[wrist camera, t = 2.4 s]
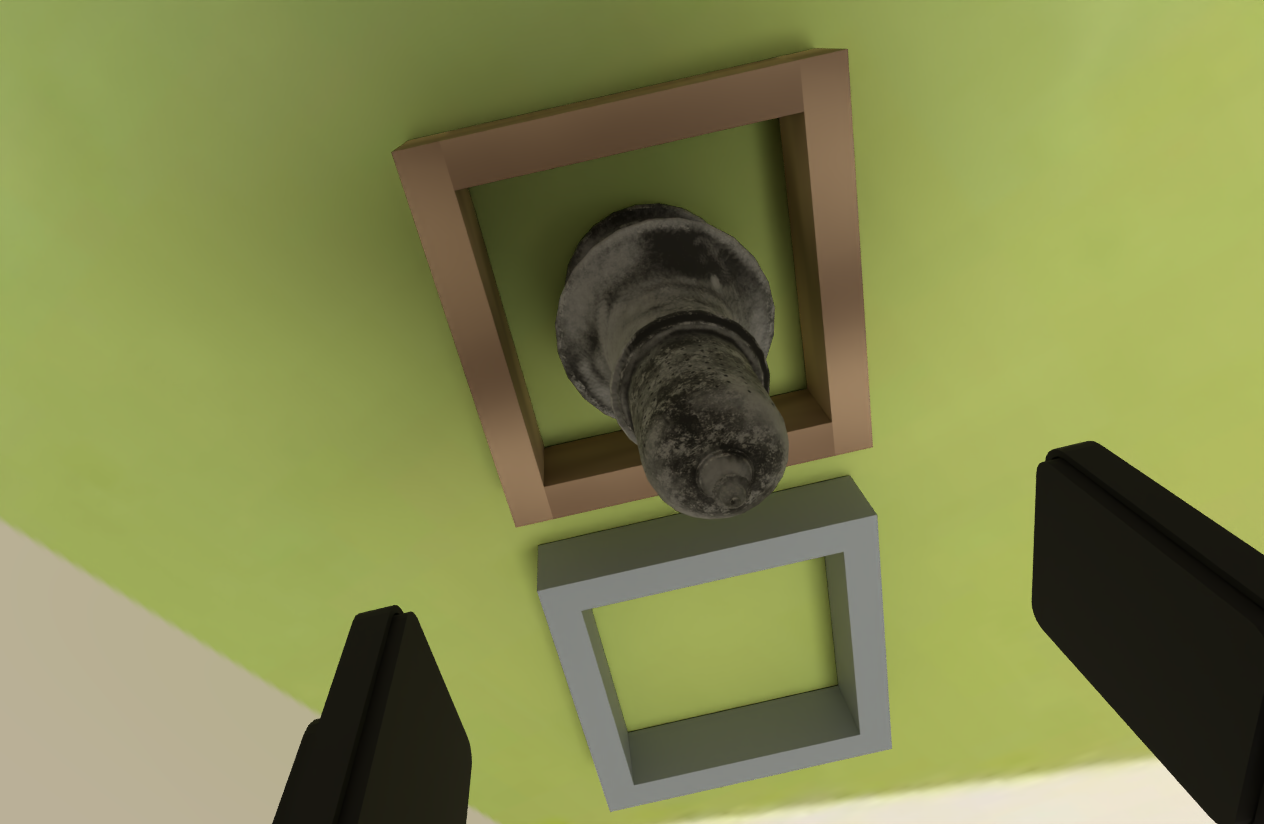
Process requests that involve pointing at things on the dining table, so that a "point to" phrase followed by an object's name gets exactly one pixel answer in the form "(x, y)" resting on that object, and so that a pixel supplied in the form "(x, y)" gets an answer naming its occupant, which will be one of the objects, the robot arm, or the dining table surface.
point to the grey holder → (705, 553)
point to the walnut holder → (777, 87)
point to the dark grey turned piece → (677, 355)
